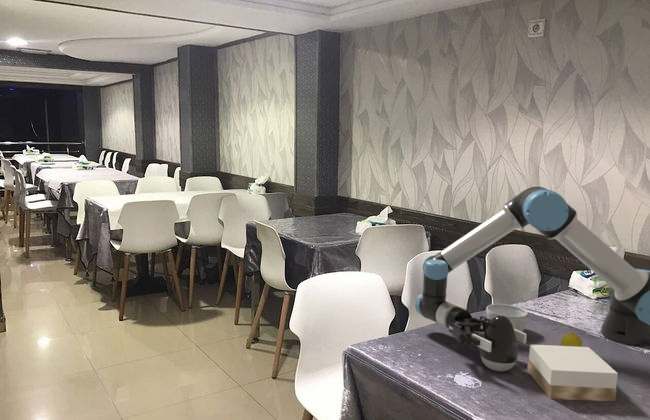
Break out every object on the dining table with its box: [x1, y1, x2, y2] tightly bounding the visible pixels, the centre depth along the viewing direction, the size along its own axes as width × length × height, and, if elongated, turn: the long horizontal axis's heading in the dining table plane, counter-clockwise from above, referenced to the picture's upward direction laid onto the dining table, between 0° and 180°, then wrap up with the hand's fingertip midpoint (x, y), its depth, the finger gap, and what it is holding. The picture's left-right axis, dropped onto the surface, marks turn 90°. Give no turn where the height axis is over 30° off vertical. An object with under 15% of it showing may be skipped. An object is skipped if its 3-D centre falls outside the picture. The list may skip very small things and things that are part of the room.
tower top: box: [528, 344, 619, 389], centre depth 137 cm, size 16×16×4 cm
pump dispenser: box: [479, 315, 519, 372], centre depth 146 cm, size 10×10×15 cm
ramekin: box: [485, 303, 529, 333], centre depth 176 cm, size 13×13×7 cm
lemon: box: [560, 332, 583, 347], centre depth 154 cm, size 6×6×8 cm
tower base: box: [526, 357, 617, 402], centre depth 138 cm, size 16×16×4 cm
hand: (508, 342), depth 143 cm, fingers open, 13 cm apart
